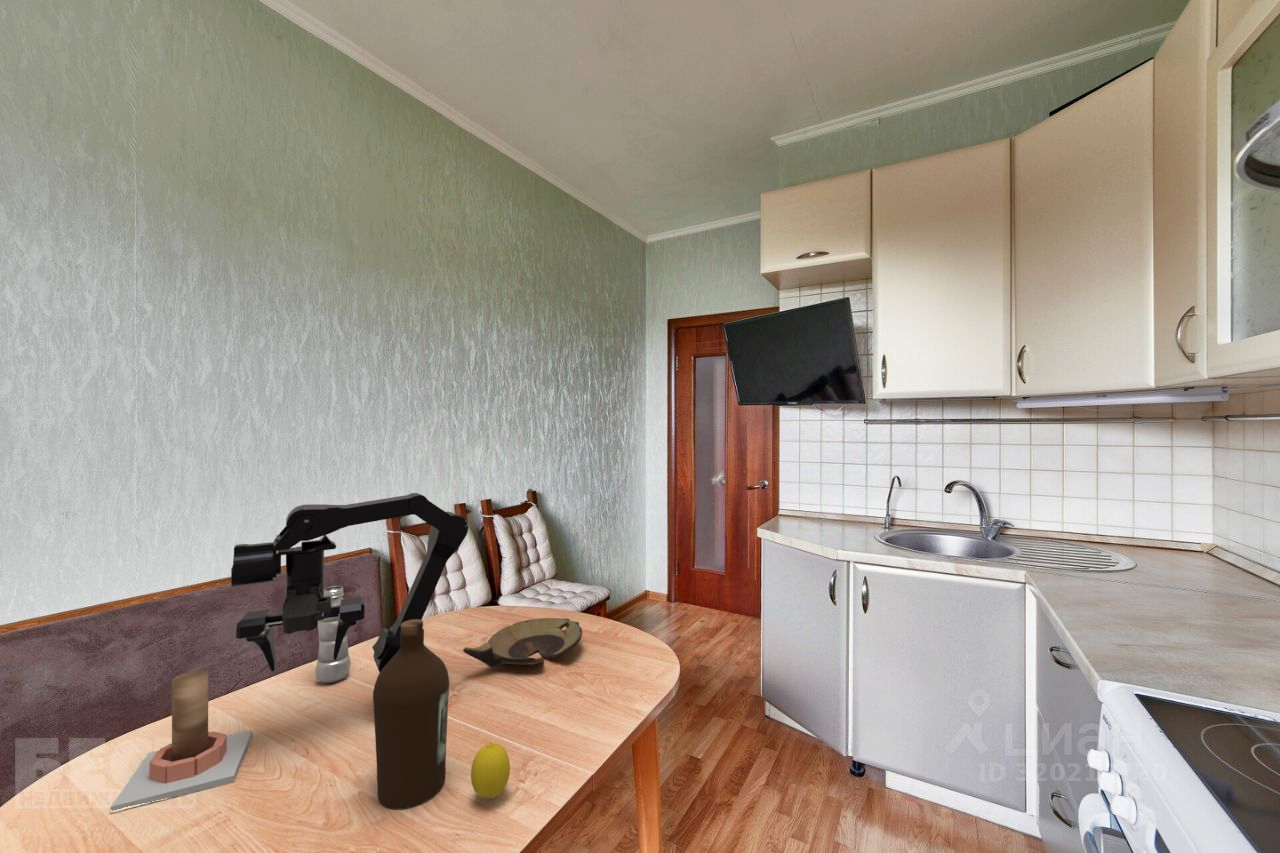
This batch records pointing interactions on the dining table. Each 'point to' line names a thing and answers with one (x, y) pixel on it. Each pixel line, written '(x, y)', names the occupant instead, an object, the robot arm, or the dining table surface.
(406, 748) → the olive oil
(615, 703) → the dining table surface
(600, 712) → the dining table surface
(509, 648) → the oil lamp
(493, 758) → the lemon
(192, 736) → the walnut peg
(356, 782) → the dining table surface
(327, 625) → the plastic bottle
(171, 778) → the band dock
